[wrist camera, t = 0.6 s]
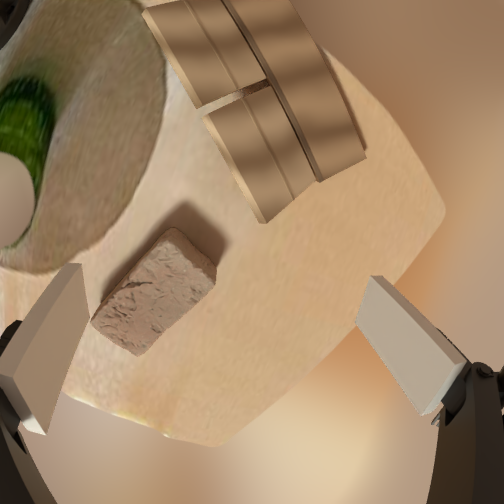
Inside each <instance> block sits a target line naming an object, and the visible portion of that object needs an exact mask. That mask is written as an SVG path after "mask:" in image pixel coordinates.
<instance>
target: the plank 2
mask: <svg viewBox="0 0 504 504" xmlns="http://www.w3.org/2000/svg"><path fill="white" fill-rule="evenodd" d="M202 120H203V122H204V123H205V125H206V127H207V129H208V131H209V132H210V134H211V136H212V138H213V139H214V141H215V143H216V145H217V147H218V148H219V150H220V152H221V154H222V156H223V158H224V159H225V161H226V163H227V165H228V167H229V168H230V170H231V172H232V174H233V176H234V178H235V179H236V181H237V183H238V185H239V187H240V189H241V190H242V192H243V194H244V196H245V198H246V200H247V202H248V203H249V205H250V207H251V209H252V211H253V213H254V215H255V216H256V218H257V220H258V222H259V223H263V224H267V223H268V222H269V221H270V220H271V219H273V218H274V217H275V216H276V215H277V214H278V213H279V212H281V211H282V210H283V209H284V208H285V207H286V206H287V205H288V204H290V203H291V202H292V201H293V200H295V198H296V197H298V196H299V195H300V194H301V193H302V192H303V191H304V190H305V189H307V188H308V187H309V186H310V185H311V184H312V183H313V182H315V181H316V178H315V176H314V174H313V172H312V169H311V167H310V165H309V163H308V161H307V158H306V156H305V154H304V152H303V150H302V147H301V145H300V143H299V141H298V139H297V137H296V135H295V133H294V131H293V129H292V127H291V124H290V122H289V120H288V118H287V116H286V114H285V112H284V110H283V108H282V106H281V104H280V103H279V101H278V99H277V97H276V95H275V93H274V91H273V89H272V87H271V86H269V87H266V88H264V89H262V90H259V91H257V92H254V93H252V94H250V95H248V96H245V97H243V98H241V99H238V100H236V101H234V102H232V103H230V104H228V105H225V106H223V107H221V108H219V109H217V110H215V111H213V112H211V113H209V114H207V115H205V116H204V117H202Z"/></svg>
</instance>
